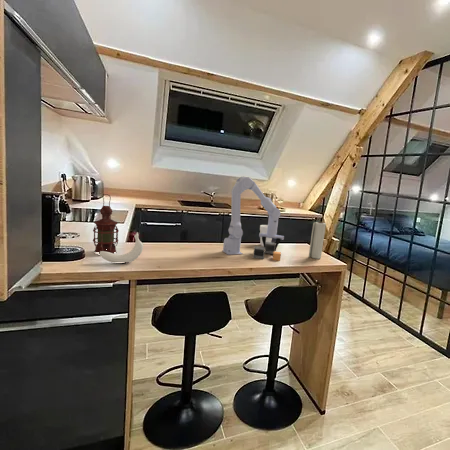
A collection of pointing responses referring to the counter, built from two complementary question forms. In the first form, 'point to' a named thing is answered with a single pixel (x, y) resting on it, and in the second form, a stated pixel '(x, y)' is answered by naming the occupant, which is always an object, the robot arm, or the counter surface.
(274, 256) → the orange block
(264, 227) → the foam cup
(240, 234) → the robot arm
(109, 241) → the lantern
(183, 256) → the counter surface
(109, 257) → the banana
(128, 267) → the counter surface
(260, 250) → the grey hollow cube
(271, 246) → the open grey box
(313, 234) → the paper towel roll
